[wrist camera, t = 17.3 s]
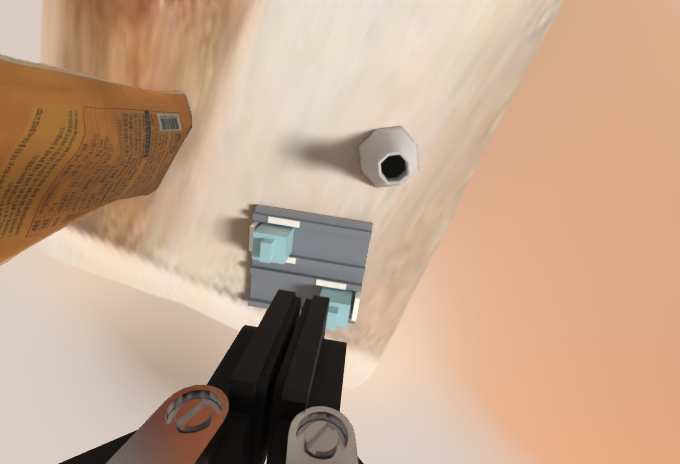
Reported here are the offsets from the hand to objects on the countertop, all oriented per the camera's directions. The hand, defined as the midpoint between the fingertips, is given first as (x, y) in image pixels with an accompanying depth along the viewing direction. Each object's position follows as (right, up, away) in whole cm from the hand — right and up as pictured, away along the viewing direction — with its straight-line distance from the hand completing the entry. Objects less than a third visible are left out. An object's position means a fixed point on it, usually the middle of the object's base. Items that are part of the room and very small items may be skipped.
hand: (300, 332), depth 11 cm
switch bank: (-3, -1, +35) cm, 35 cm away
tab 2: (+1, -6, +35) cm, 35 cm away
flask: (+7, +12, +29) cm, 33 cm away
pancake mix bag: (-21, +13, +32) cm, 40 cm away
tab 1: (-7, +3, +32) cm, 33 cm away
